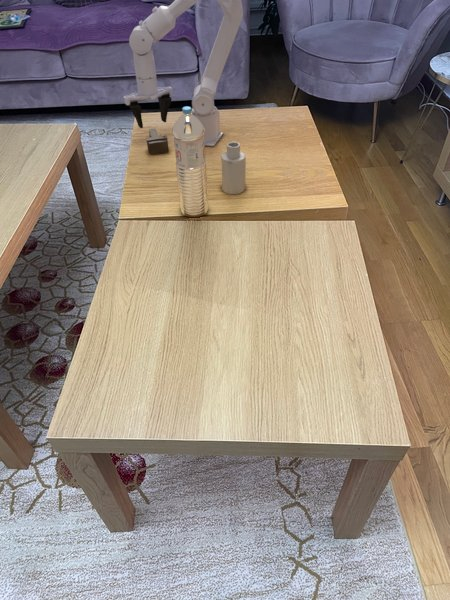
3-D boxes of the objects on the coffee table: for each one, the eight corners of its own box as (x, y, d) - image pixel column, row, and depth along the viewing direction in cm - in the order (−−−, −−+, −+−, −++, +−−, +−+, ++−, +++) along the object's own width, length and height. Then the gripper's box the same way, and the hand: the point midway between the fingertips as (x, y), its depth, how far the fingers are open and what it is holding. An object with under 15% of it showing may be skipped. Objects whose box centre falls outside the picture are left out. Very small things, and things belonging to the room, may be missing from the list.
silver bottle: (226, 181, 121) (225, 137, 112) (247, 184, 119) (248, 140, 111) (219, 192, 117) (217, 148, 108) (241, 195, 115) (241, 151, 107)
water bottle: (204, 220, 108) (198, 115, 90) (177, 217, 109) (166, 113, 91) (211, 204, 112) (206, 102, 95) (184, 202, 113) (175, 100, 96)
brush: (162, 135, 142) (161, 123, 139) (169, 153, 133) (168, 140, 130) (143, 138, 140) (141, 125, 138) (149, 155, 132) (147, 142, 129)
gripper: (127, 85, 121) (134, 134, 130) (175, 75, 126) (179, 123, 135) (117, 77, 125) (126, 125, 135) (165, 68, 130) (169, 115, 140)
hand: (152, 124), depth 135 cm, fingers open, 7 cm apart
